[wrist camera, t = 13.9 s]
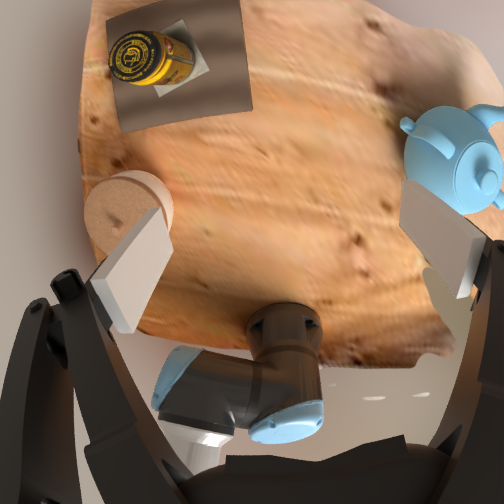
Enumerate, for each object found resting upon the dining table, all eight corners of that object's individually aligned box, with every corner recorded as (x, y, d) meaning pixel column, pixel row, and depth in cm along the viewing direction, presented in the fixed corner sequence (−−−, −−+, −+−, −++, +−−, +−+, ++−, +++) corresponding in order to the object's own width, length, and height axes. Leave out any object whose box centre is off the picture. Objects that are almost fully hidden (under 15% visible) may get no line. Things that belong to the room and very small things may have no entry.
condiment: (160, 97, 31) (115, 104, 21) (134, 47, 27) (84, 38, 17) (210, 70, 29) (183, 62, 19) (183, 19, 25) (147, -6, 15)
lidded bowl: (115, 152, 38) (76, 175, 29) (191, 170, 40) (167, 198, 30) (109, 222, 45) (77, 257, 35) (176, 241, 46) (155, 283, 37)
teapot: (397, 214, 42) (437, 263, 30) (380, 92, 32) (431, 99, 20) (471, 197, 38) (519, 236, 27) (465, 87, 29) (525, 100, 17)
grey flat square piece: (253, 109, 35) (251, 110, 32) (130, 130, 36) (121, 134, 34) (238, -8, 25) (236, -15, 23) (115, 23, 27) (105, 20, 24)
